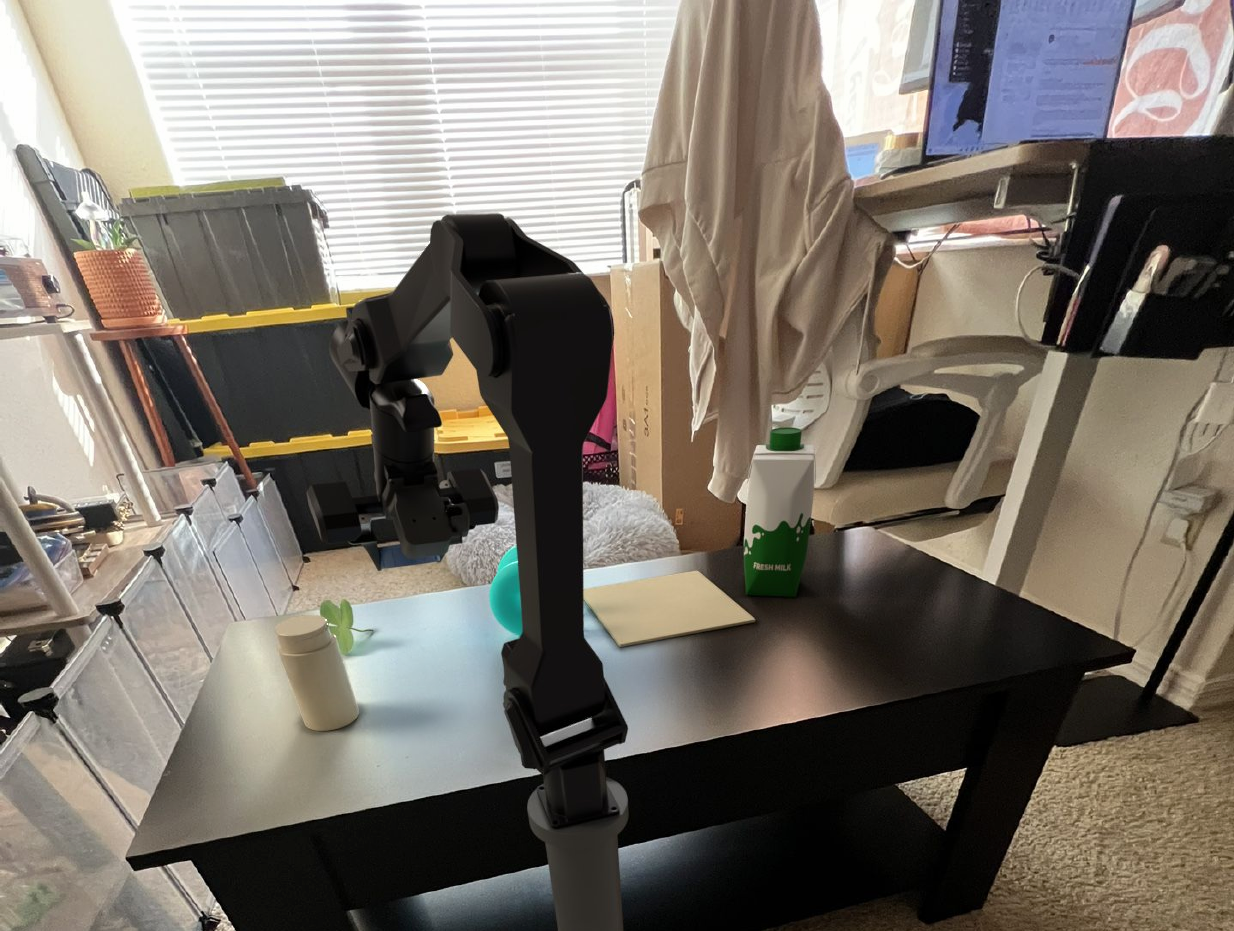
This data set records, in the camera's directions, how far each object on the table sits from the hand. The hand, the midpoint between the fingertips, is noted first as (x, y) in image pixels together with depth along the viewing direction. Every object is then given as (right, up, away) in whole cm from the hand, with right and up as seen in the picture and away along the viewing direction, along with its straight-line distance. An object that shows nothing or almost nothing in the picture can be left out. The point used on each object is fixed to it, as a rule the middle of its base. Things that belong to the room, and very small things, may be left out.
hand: (408, 564), depth 83 cm
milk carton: (+47, +4, +22) cm, 52 cm away
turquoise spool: (+13, -3, +15) cm, 20 cm away
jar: (-8, -18, -2) cm, 20 cm away
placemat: (+30, 0, +18) cm, 35 cm away
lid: (0, +1, -2) cm, 2 cm away
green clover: (-11, -6, +13) cm, 18 cm away
